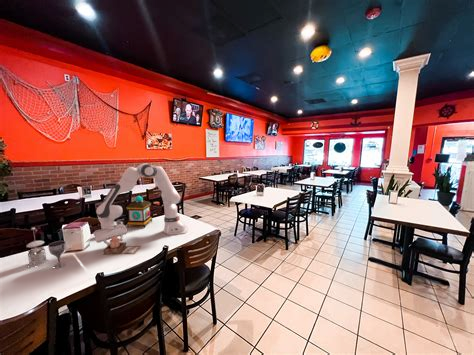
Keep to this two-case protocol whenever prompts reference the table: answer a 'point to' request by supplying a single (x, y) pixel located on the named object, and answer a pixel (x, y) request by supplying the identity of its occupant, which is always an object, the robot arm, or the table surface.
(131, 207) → the decorative lantern
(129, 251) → the caddy
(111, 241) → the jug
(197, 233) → the table surface
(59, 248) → the wine glass
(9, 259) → the table surface
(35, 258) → the french press
